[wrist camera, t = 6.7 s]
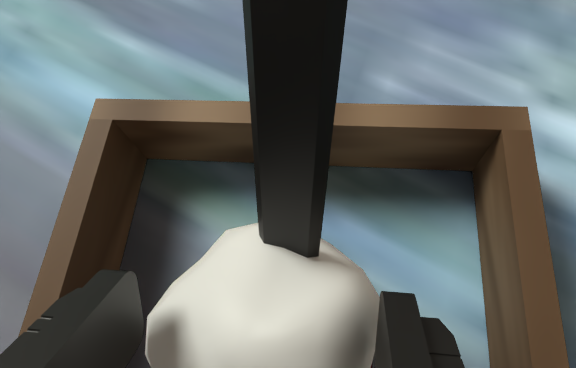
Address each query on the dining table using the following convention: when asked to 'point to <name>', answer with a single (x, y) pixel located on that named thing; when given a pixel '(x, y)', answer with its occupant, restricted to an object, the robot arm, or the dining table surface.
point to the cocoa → (277, 222)
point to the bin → (344, 152)
